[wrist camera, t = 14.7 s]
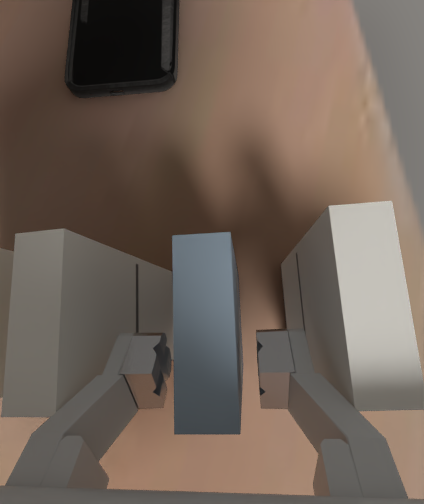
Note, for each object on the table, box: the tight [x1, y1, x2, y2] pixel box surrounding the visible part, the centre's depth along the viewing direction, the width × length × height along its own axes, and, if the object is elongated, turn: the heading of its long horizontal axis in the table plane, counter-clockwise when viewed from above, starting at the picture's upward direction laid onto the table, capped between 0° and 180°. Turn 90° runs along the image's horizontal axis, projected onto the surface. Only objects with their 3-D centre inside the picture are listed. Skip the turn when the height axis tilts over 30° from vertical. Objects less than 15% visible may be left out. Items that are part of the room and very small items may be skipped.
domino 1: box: [1, 228, 174, 417], centre depth 13 cm, size 2×5×10 cm, turn 3°
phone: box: [65, 0, 179, 98], centre depth 23 cm, size 8×1×15 cm
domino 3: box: [281, 201, 424, 411], centre depth 13 cm, size 2×5×10 cm, turn 3°
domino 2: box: [172, 232, 243, 434], centre depth 13 cm, size 2×5×10 cm, turn 2°
